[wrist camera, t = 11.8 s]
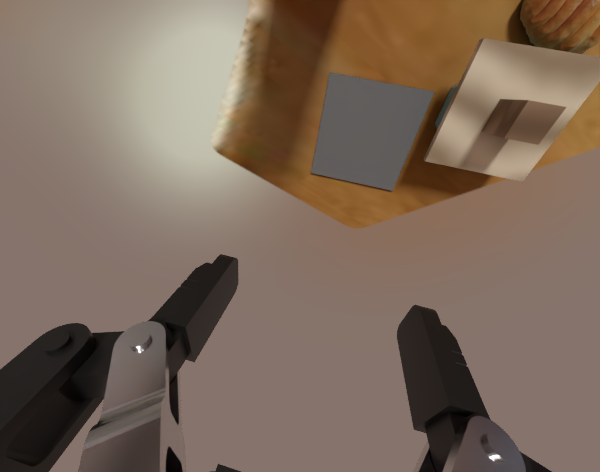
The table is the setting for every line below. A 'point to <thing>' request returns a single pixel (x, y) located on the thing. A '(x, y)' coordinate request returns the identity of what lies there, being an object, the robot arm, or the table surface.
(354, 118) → the mat
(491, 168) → the lid
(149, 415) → the robot arm
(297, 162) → the table surface
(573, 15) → the pastry
